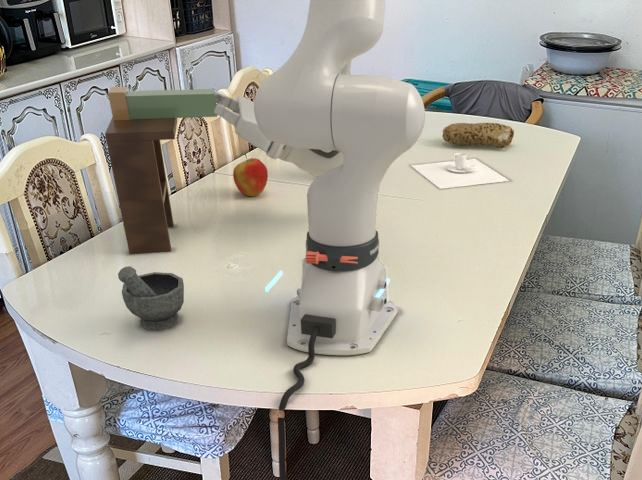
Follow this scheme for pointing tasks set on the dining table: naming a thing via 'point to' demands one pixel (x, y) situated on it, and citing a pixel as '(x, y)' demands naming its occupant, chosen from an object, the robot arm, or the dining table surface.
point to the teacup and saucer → (458, 172)
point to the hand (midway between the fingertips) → (214, 101)
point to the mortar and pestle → (152, 297)
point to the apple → (250, 177)
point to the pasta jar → (161, 103)
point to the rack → (142, 181)
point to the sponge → (478, 134)
